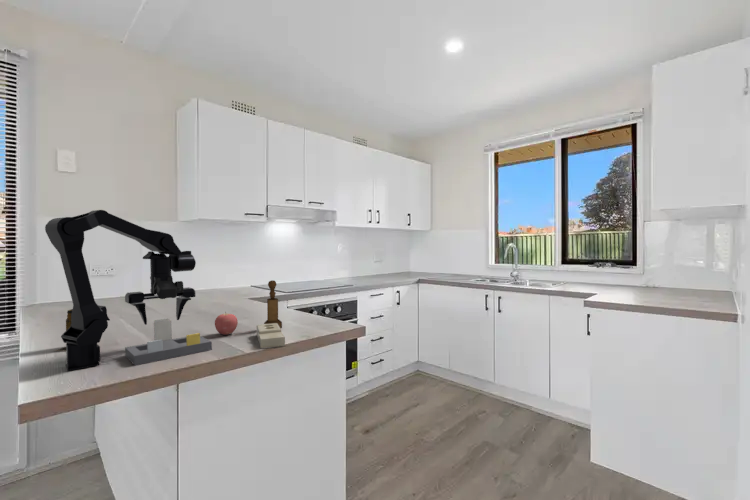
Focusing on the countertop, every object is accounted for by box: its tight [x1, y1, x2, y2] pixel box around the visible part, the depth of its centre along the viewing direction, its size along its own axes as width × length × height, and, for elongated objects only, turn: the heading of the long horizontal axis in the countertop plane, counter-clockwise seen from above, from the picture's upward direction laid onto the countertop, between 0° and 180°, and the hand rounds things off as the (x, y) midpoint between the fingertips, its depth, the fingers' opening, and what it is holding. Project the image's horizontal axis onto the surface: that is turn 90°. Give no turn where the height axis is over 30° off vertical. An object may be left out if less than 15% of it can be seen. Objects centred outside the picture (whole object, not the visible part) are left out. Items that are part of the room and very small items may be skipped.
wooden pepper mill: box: [263, 280, 283, 329], centre depth 141 cm, size 7×6×18 cm
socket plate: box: [124, 332, 213, 366], centre depth 111 cm, size 20×12×6 cm, turn 134°
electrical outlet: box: [255, 323, 286, 349], centre depth 124 cm, size 7×4×18 cm
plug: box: [153, 318, 173, 341], centre depth 119 cm, size 4×4×8 cm
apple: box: [214, 311, 239, 336], centre depth 132 cm, size 7×7×8 cm
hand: (162, 322), depth 119 cm, fingers open, 9 cm apart
